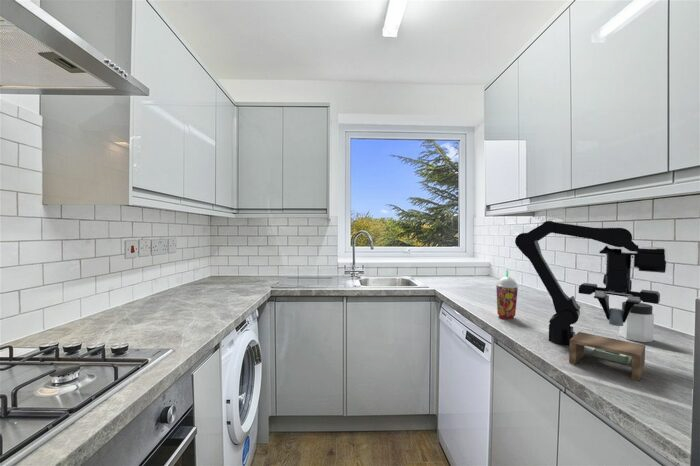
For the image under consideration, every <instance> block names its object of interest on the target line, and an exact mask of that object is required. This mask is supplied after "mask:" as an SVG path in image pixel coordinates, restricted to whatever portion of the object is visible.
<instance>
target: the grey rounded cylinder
mask: <svg viewBox="0 0 700 466" xmlns="http://www.w3.org/2000/svg"><path fill="white" fill-rule="evenodd" d="M623 315H624V310H622V308H616V307H615V308H612V307H609V320H608V325H611V326H616V327H620V326H623Z"/></svg>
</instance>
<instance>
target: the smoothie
mask: <svg viewBox="0 0 700 466" xmlns="http://www.w3.org/2000/svg"><path fill="white" fill-rule="evenodd" d="M505 273H506V276H503V277H501V278H500V279H498V281H497V283H496V284H495V286H496V308H497V309H496V310H497V315H498V317H499V318H500V319H502V320H503V319H504V320H513V319H514V318H515V316H516V312H517V311H516V310H517V302H518V301H517V299H518V289H519V288H518V287H519V286H518V284H517V282H516V280H515V279H513V278H512V277H510V276H509V270H506V272H505Z"/></svg>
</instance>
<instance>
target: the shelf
mask: <svg viewBox="0 0 700 466" xmlns="http://www.w3.org/2000/svg"><path fill="white" fill-rule="evenodd" d="M585 347H587V348H588V347H589V348H593V349H595V348H597V349H601V350H605V351H610V352H614V353H619V354H623V355H627V356H632V359H631V380H633V381H637V382H640V381H641V379H642V377H643V373H644V371H645V366H646V365H645V363H646V361H645V360H646V345H645V344H641V343H635V342H630V341H625V340H621V339H616V338H611V337H606V336H601V335H596V334H591V333H587V332H581V331H578V332H577V333H575V336H573V337H572V338H571V339H570V346H569V354H568V355H569V356H568V363H569V364H573V365H577V363H578V362H579V361H580V360H581V359H582V358H583V357H584V356H585Z"/></svg>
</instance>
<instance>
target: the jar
mask: <svg viewBox="0 0 700 466" xmlns="http://www.w3.org/2000/svg"><path fill="white" fill-rule="evenodd" d="M625 303H626V301H622V303H621V309H622V310H624V309H625ZM653 308H654V307H653V305H651V304H650V303H645V302H640V304H635V305H634V306H633V307H632V309H631V311H630V313H629V315H628V317H627V319H626V321H625V323H623V326H619V336H620V337H622V338H624V339H625V340H629V341H634V342H639V343H651V342H654V325H655V323H654V322H655V314H654V313H653Z"/></svg>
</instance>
